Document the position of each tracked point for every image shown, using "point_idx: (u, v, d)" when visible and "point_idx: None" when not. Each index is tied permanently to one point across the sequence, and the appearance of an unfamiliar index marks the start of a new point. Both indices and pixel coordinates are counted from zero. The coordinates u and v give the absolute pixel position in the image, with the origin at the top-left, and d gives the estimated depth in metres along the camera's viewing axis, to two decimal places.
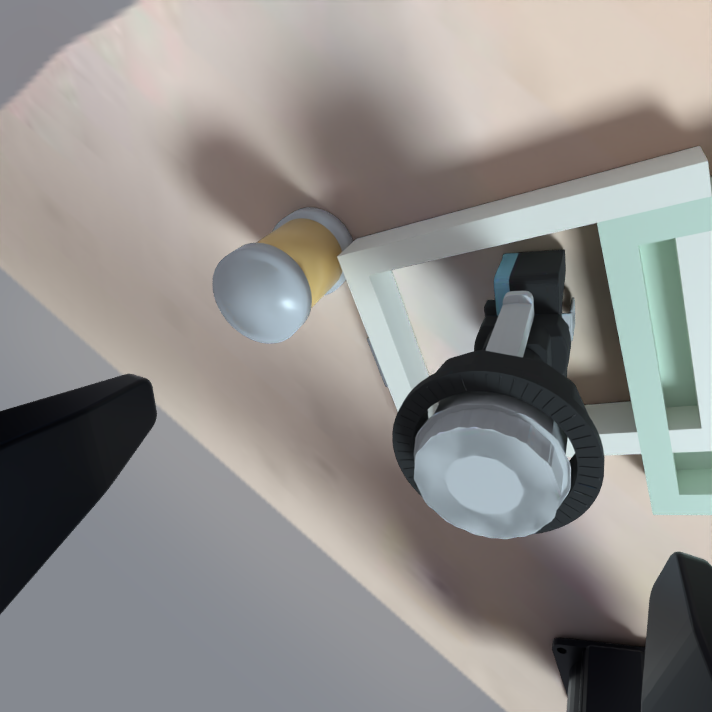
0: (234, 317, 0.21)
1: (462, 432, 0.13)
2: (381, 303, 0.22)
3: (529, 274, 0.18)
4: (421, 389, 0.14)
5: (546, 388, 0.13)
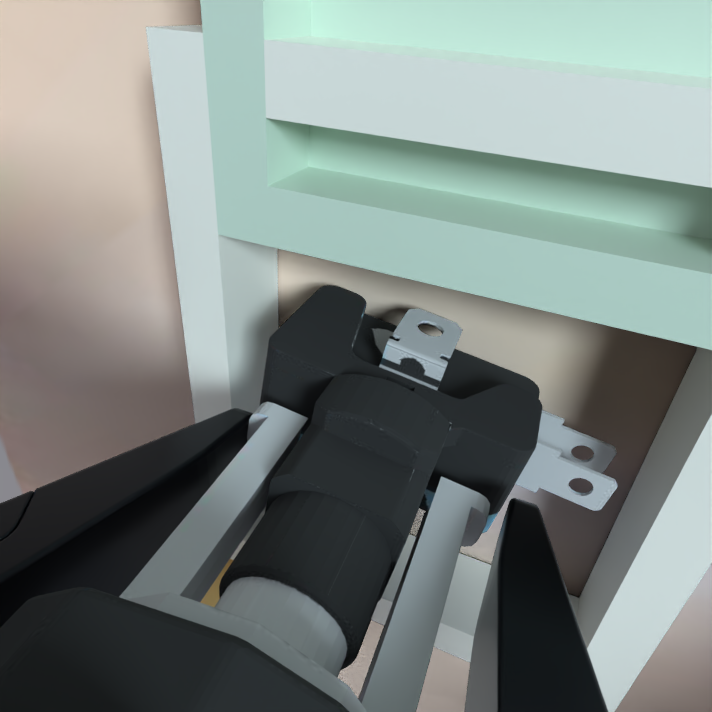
0: None
1: None
2: None
3: (263, 378, 0.10)
4: None
5: None
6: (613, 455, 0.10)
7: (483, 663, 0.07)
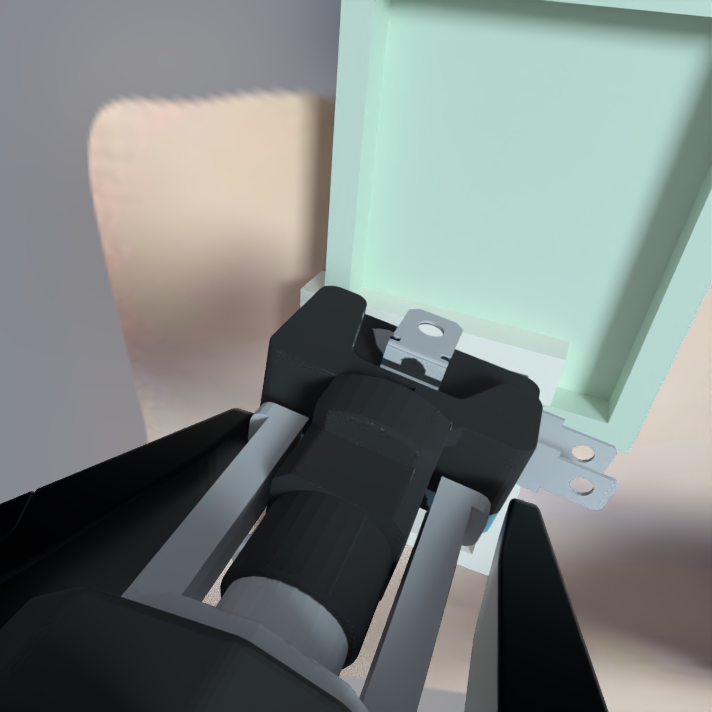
0: None
1: None
2: None
3: (264, 378, 0.10)
4: None
5: None
6: (613, 455, 0.10)
7: (483, 663, 0.07)
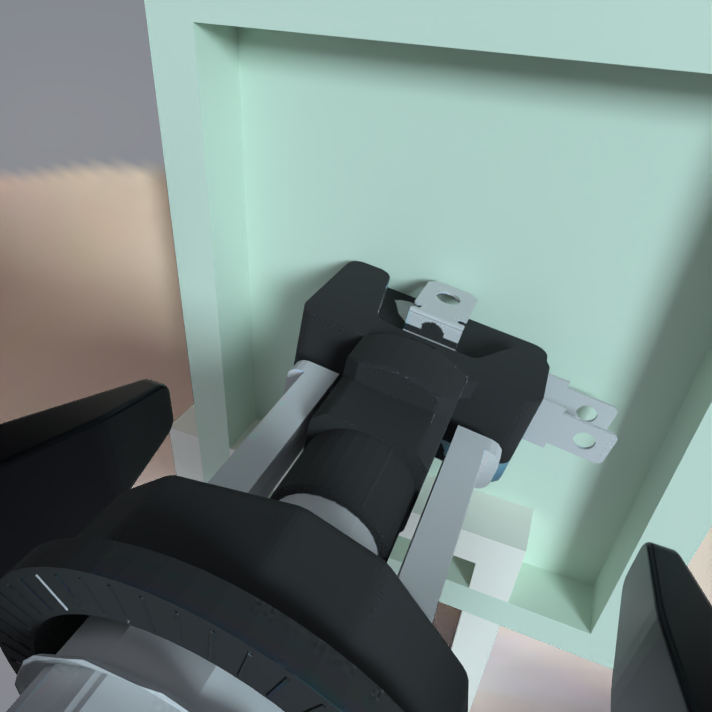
0: None
1: None
2: None
3: (298, 341, 0.11)
4: None
5: None
6: (614, 414, 0.11)
7: None
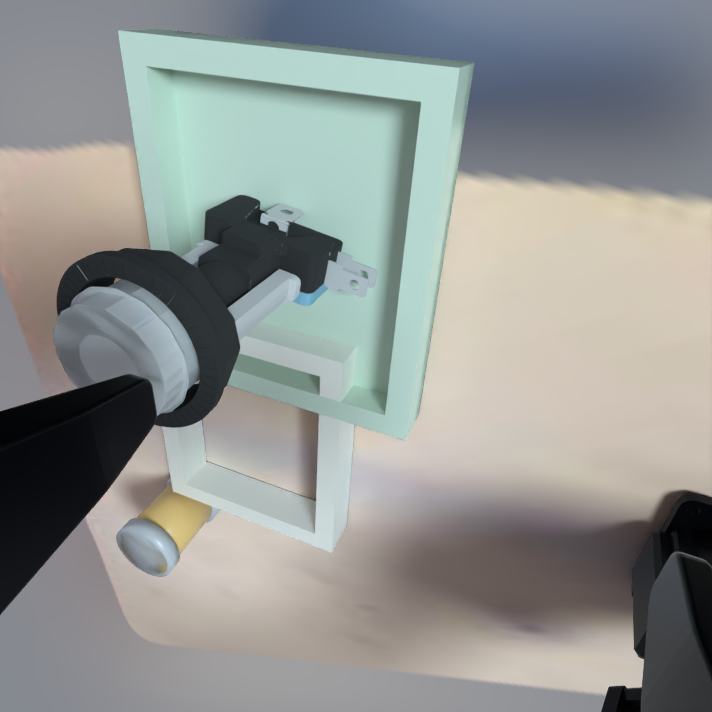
0: (153, 571, 0.31)
1: (62, 353, 0.15)
2: (206, 489, 0.31)
3: (205, 234, 0.21)
4: None
5: None
6: (376, 274, 0.21)
7: None
